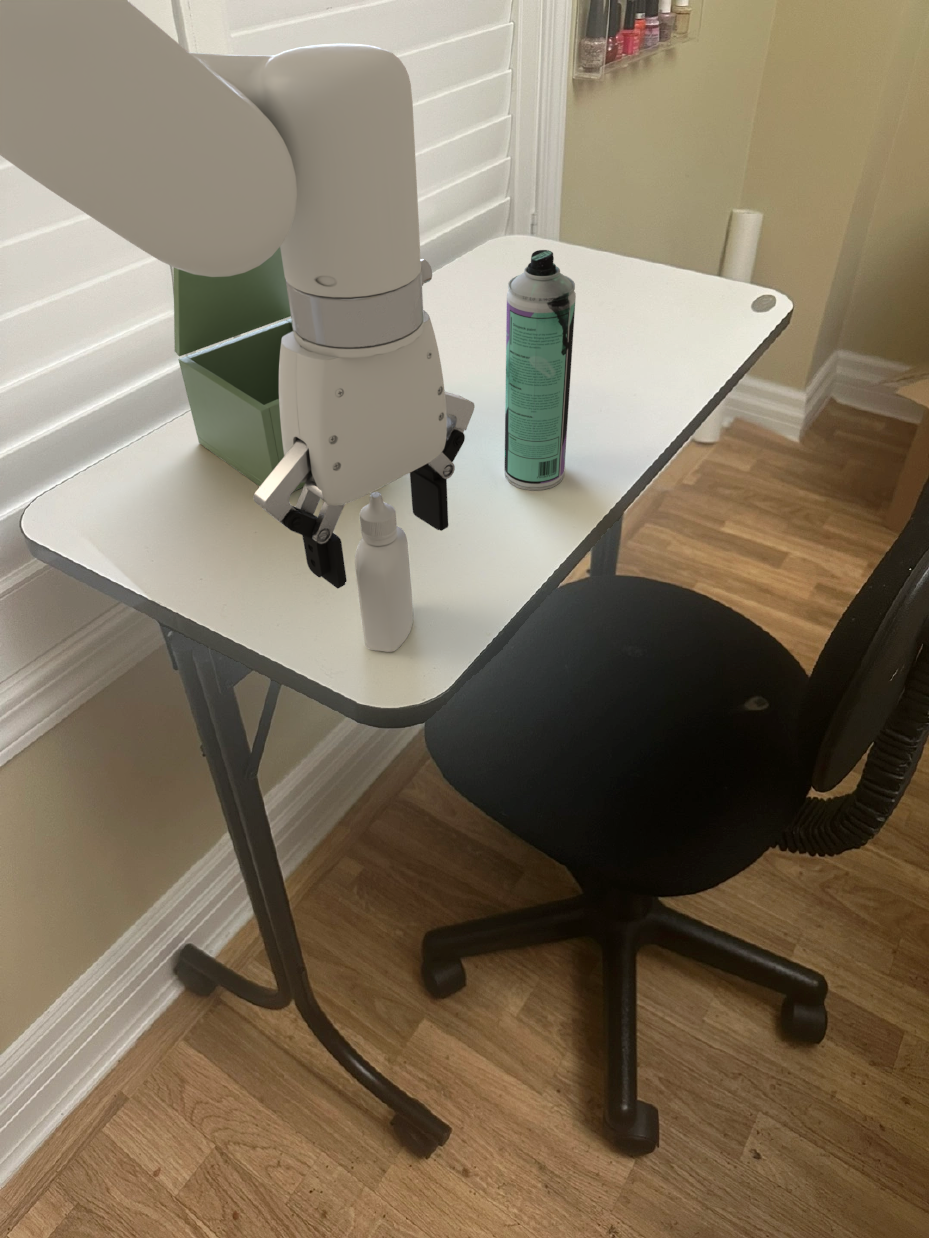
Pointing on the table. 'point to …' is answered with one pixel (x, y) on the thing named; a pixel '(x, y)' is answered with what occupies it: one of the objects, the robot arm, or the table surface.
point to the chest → (239, 400)
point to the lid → (227, 304)
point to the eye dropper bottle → (383, 577)
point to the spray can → (538, 373)
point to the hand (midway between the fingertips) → (381, 548)
